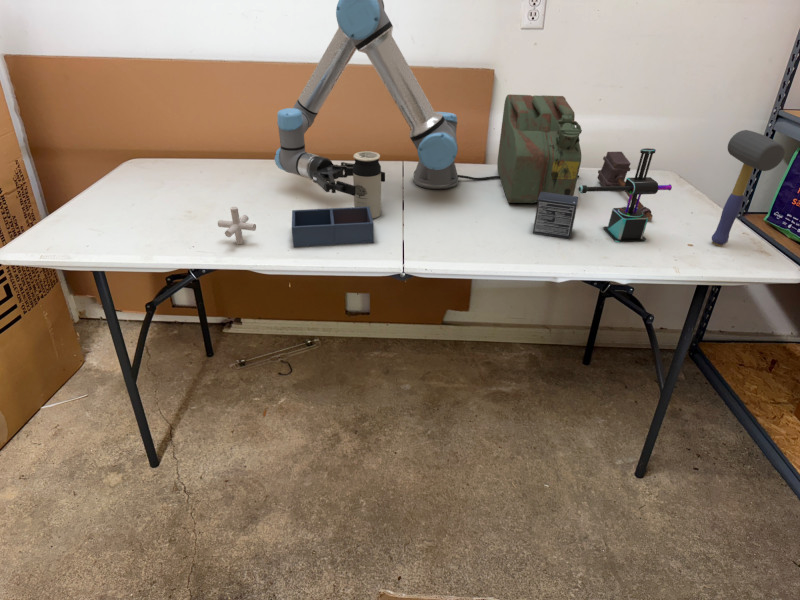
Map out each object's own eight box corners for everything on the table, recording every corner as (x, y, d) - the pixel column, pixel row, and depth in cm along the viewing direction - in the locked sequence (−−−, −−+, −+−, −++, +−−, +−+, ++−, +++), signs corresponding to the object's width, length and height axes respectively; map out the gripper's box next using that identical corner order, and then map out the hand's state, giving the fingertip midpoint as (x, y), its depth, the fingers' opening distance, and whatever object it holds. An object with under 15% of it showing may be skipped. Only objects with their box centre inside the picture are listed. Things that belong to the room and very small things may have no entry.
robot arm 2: (641, 226, 153) (667, 143, 139) (657, 241, 145) (686, 154, 132) (559, 229, 150) (576, 144, 137) (571, 243, 143) (590, 156, 129)
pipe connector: (249, 253, 135) (243, 218, 130) (213, 249, 137) (206, 213, 131) (264, 236, 144) (260, 202, 138) (231, 232, 145) (225, 198, 140)
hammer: (614, 176, 183) (623, 150, 175) (653, 234, 160) (666, 207, 153) (595, 177, 182) (604, 151, 175) (632, 235, 159) (644, 207, 152)
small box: (571, 229, 150) (579, 195, 144) (570, 239, 145) (578, 204, 139) (534, 224, 153) (540, 190, 147) (531, 233, 148) (537, 198, 142)
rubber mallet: (692, 234, 149) (730, 127, 132) (717, 233, 150) (758, 127, 133) (718, 255, 139) (763, 142, 122) (744, 254, 139) (793, 142, 123)
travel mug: (368, 206, 161) (367, 149, 151) (386, 214, 157) (386, 155, 147) (349, 213, 157) (346, 154, 147) (366, 222, 152) (365, 161, 142)
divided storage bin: (369, 225, 151) (369, 206, 147) (373, 242, 142) (373, 223, 138) (294, 229, 148) (292, 210, 144) (293, 247, 139) (291, 227, 135)
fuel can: (508, 207, 163) (521, 118, 148) (496, 168, 192) (505, 91, 177) (570, 209, 162) (590, 120, 147) (548, 170, 191) (562, 92, 176)
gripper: (343, 169, 172) (395, 183, 161) (287, 191, 155) (341, 209, 144) (342, 146, 167) (395, 160, 157) (285, 167, 151) (340, 184, 140)
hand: (370, 184), depth 151 cm, fingers open, 13 cm apart
